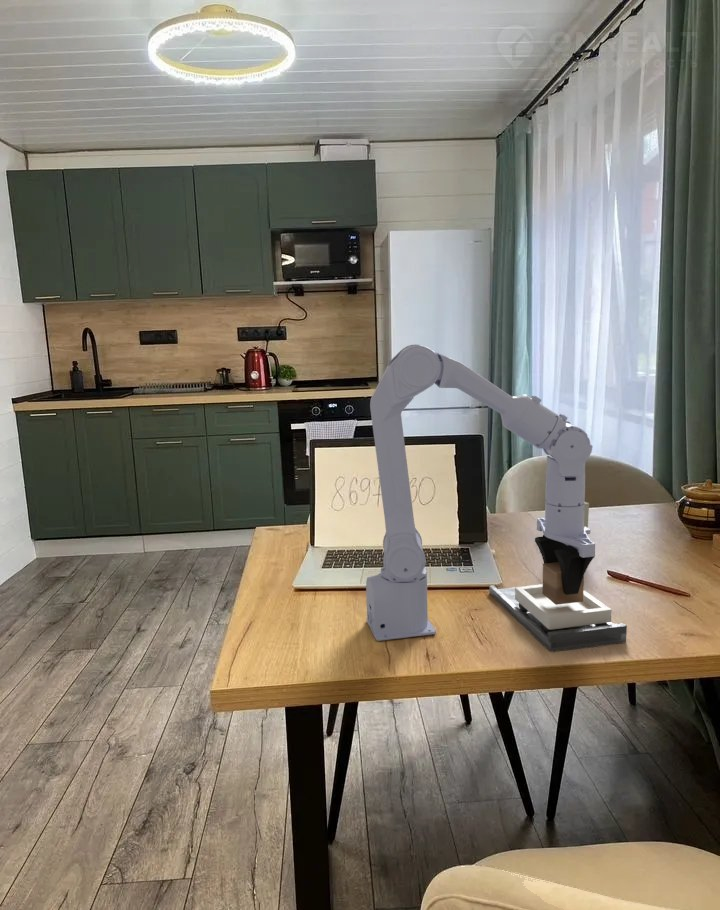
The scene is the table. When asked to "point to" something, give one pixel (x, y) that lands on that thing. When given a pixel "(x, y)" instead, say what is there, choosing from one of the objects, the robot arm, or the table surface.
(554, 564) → the walnut block
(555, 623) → the white shallow tray
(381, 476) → the robot arm
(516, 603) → the track
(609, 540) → the table surface
